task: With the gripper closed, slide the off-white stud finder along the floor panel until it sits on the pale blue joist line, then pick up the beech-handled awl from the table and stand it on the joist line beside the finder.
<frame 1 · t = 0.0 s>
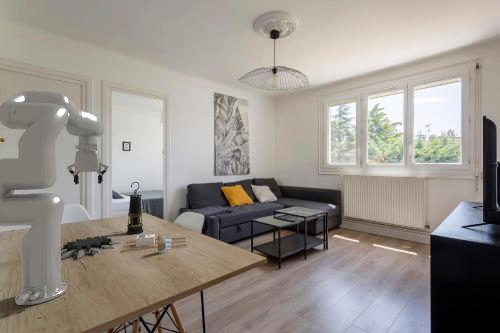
hand: (88, 183, 121), 31 cm above the table, tool pointing down, fingers open, 9 cm apart
lantern: (134, 232, 149), on the table
floor panel: (155, 246, 125), on the table
decorative piece: (88, 250, 121), on the table
awl: (161, 255, 112), on the table
stud finder: (145, 244, 123), point 1 cm above the table, touching floor panel
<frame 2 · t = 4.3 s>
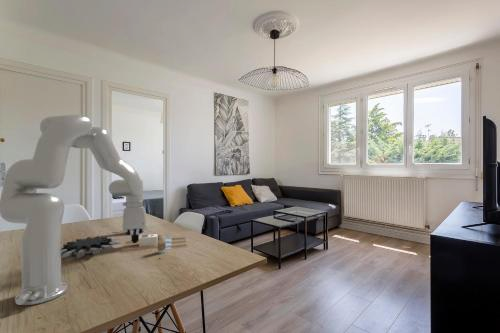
hand: (135, 242, 122), 3 cm above the table, tool pointing down, fingers closed
stud finder: (148, 244, 124), point 1 cm above the table, touching floor panel, gripper
everything else where it was.
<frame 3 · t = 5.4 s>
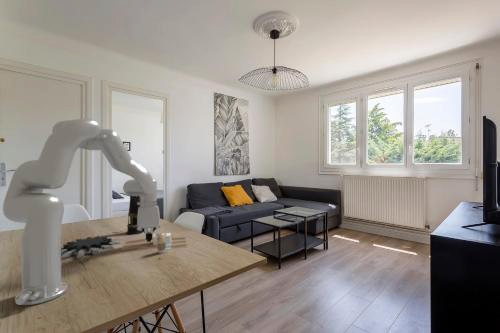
hand: (149, 241, 124), 3 cm above the table, tool pointing down, fingers closed
stud finder: (162, 242, 125), point 1 cm above the table, touching gripper
everything else where it was.
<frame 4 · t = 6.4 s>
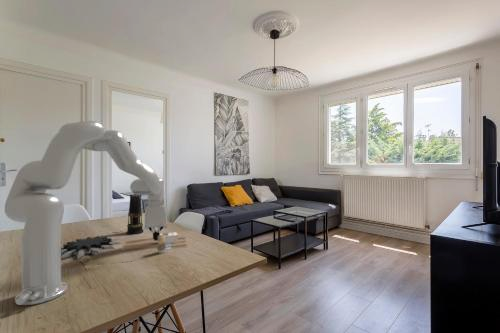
hand: (156, 240, 125), 3 cm above the table, tool pointing down, fingers closed
stud finder: (168, 242, 127), point 1 cm above the table, touching floor panel, gripper
everything else where it was.
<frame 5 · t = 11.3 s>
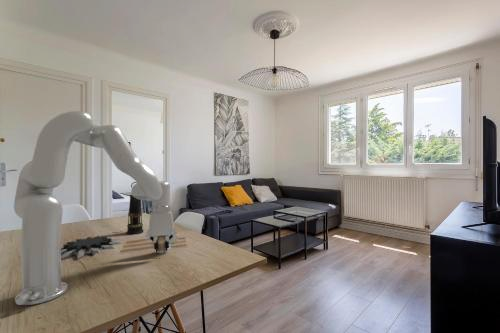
hand: (161, 250, 112), 2 cm above the table, tool pointing down, fingers closed on awl, 3 cm apart
awl: (161, 255, 112), on the table, touching gripper
stud finder: (169, 242, 127), point 1 cm above the table, touching floor panel
everything else where it was.
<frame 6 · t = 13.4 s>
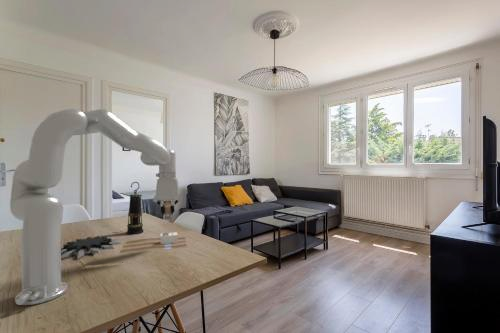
hand: (167, 213, 120), 17 cm above the table, tool pointing down, fingers closed on awl, 3 cm apart
awl: (167, 218, 120), point 14 cm above the table, touching gripper
everything else where it was.
when the fingers open (5 cm above the table, at t = 15.8 s): awl drops 1 cm, resting on floor panel.
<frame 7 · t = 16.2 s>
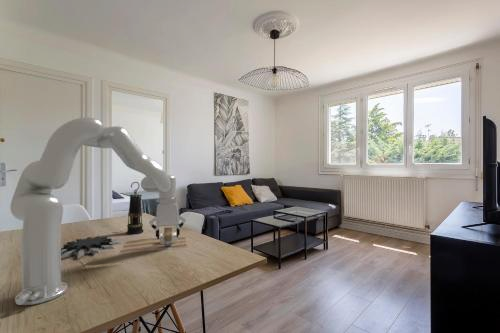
hand: (167, 237, 121), 5 cm above the table, tool pointing down, fingers open, 8 cm apart
awl: (168, 246, 121), point 1 cm above the table, touching floor panel
everything else where it was.
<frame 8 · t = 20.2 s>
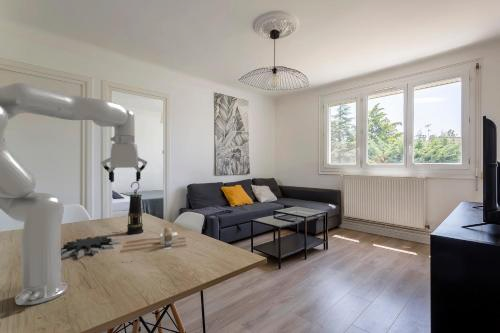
hand: (125, 181, 105), 33 cm above the table, tool pointing down, fingers open, 9 cm apart
nothing on the table moved.
at the end: stud finder inside the target area (0.3 cm from its centre), point 1.2 cm above the table; awl inside the target area (0.2 cm from its centre), point 1.2 cm above the table; awl tilted 1° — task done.
